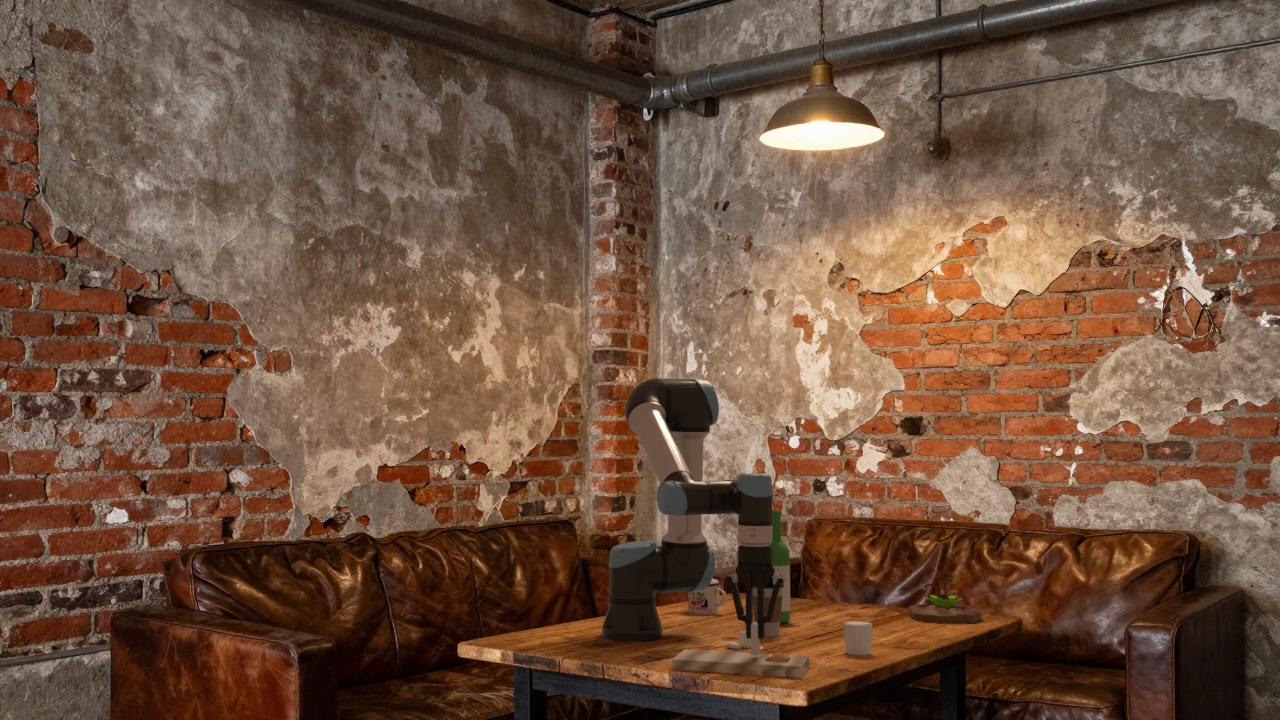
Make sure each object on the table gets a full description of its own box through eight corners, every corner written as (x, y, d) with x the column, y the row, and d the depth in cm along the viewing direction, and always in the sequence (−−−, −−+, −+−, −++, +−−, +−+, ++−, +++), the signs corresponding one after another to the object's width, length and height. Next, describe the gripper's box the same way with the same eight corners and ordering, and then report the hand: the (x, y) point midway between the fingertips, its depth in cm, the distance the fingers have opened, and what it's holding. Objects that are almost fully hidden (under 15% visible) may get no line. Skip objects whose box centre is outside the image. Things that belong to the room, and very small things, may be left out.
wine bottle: (776, 618, 319) (775, 509, 321) (796, 622, 313) (795, 511, 315) (755, 621, 315) (755, 510, 317) (775, 625, 309) (774, 512, 310)
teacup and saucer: (725, 652, 273) (725, 634, 273) (727, 646, 281) (726, 629, 281) (763, 653, 272) (762, 635, 272) (763, 646, 280) (763, 629, 280)
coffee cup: (782, 638, 289) (782, 578, 289) (748, 637, 290) (748, 577, 291) (785, 633, 297) (785, 574, 298) (752, 631, 298) (752, 573, 299)
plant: (986, 625, 312) (985, 583, 313) (912, 623, 315) (911, 581, 316) (976, 613, 332) (975, 574, 332) (906, 611, 335) (906, 572, 335)
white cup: (852, 649, 276) (851, 619, 276) (878, 652, 271) (877, 622, 272) (837, 653, 270) (837, 622, 271) (863, 656, 266) (863, 626, 266)
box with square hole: (672, 671, 250) (672, 659, 250) (684, 660, 261) (684, 649, 261) (801, 678, 242) (801, 666, 243) (808, 667, 254) (808, 655, 254)
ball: (775, 646, 251) (789, 652, 248) (779, 658, 253) (793, 665, 250) (763, 658, 249) (778, 665, 246) (768, 671, 251) (782, 678, 248)
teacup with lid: (681, 613, 327) (681, 572, 328) (698, 609, 335) (698, 569, 336) (717, 617, 320) (717, 575, 321) (734, 613, 328) (734, 572, 329)
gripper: (722, 545, 251) (722, 655, 249) (782, 547, 248) (782, 658, 246) (728, 541, 258) (728, 649, 257) (787, 543, 255) (787, 652, 253)
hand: (755, 653), depth 251 cm, fingers closed
